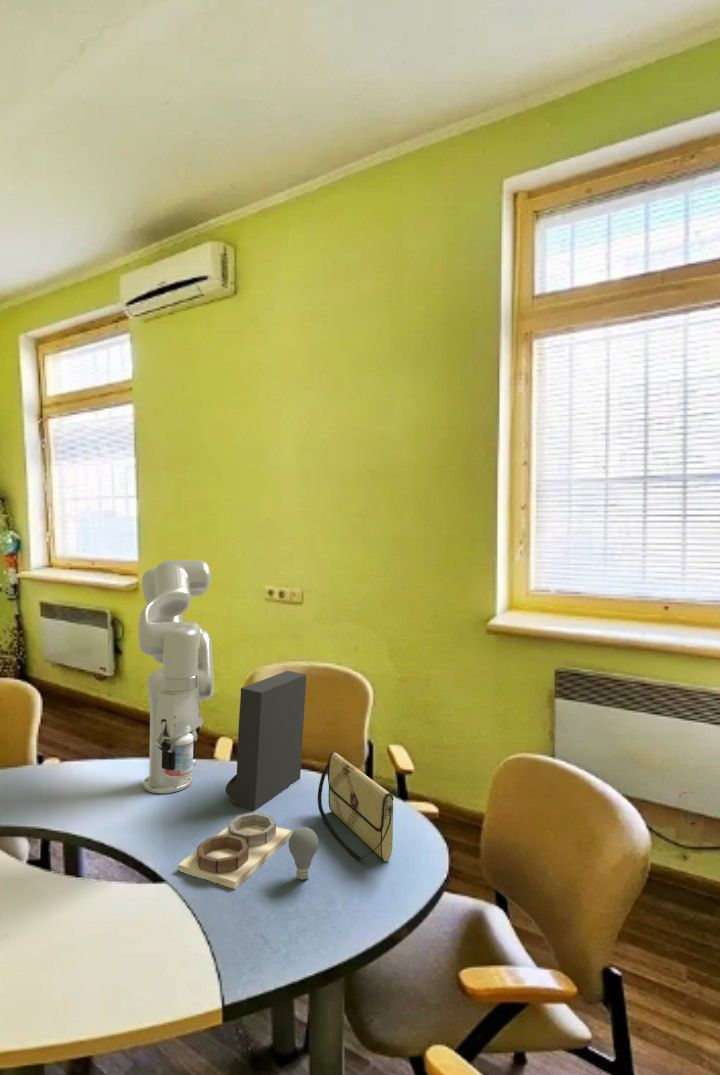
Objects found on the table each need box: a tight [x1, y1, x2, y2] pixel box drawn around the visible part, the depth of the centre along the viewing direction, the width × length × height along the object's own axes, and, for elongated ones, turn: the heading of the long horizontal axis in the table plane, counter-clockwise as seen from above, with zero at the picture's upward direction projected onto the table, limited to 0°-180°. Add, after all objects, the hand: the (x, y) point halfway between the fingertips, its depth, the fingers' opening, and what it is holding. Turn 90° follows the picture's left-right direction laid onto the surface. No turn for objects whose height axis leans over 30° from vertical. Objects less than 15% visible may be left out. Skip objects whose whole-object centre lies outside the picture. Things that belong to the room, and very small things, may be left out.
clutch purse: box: [317, 751, 394, 863], centre depth 139 cm, size 30×7×15 cm, turn 29°
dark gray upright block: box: [224, 670, 307, 812], centre depth 162 cm, size 21×11×30 cm, turn 154°
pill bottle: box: [164, 726, 194, 779], centre depth 136 cm, size 6×6×11 cm
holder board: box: [177, 812, 292, 890], centre depth 131 cm, size 22×14×4 cm, turn 157°
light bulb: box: [288, 826, 319, 880], centre depth 123 cm, size 6×6×10 cm
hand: (178, 762), depth 136 cm, fingers closed on pill bottle, 6 cm apart
